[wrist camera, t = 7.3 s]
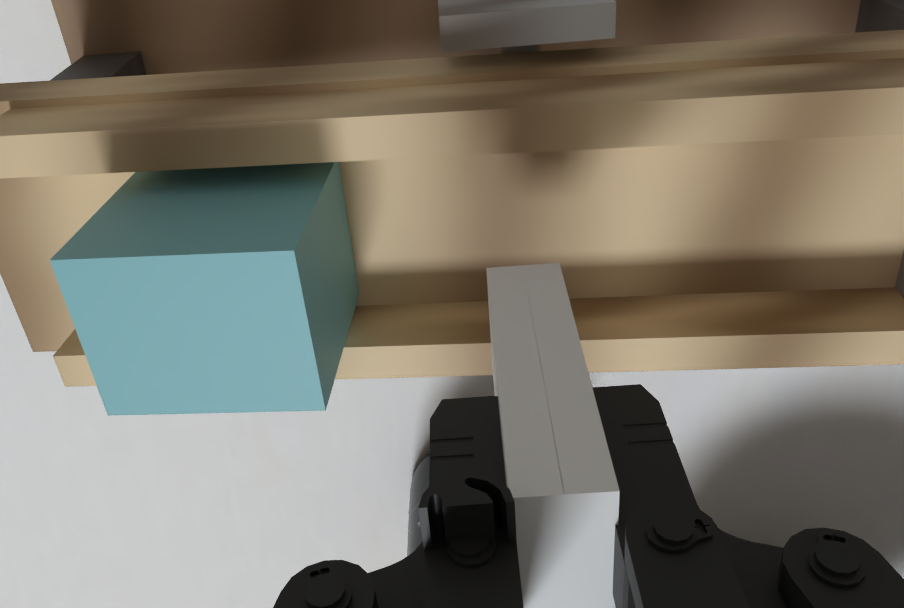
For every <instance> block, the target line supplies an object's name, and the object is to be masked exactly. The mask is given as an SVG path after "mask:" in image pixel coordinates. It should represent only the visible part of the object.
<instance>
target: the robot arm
mask: <svg viewBox="0 0 904 608" xmlns="http://www.w3.org/2000/svg"><path fill="white" fill-rule="evenodd" d="M486 271H487V287H488V304H489V320H490V337H491V353H492V370H493V382H494V393H495V396H488V397H473V398H458V399H443V400H442V401H441V402H440V404H439V406H438V407H437V409H436V410H435V412H434V414H433V415H432V417H431V418H430V461H429V488H428V489H427V490H426V491H425V492H424V493H423V494H422V497H421V500H420V504H419V507H418V510H419V518H420V525H421V533H422V540H423V541H422V542H421V544H420V545H419V546H418V547H417V548H416V549H415V551H414V552H413V553H411V554H410V555H408V556H407V557H406V558H404V559H403V560H401V561H399V562H397V563H395V564H392V565H390V566H388V567H385V568H382V569H379V570H376V571H373V572H370V573H367V572H366V571H364V570H363V569H362V568H361V567H360V566H359V565H356V564H353V563H350V562H347V561H344V560H329V561H322V562H319V563H316V564H313V565H310V566H307V567H306V568H304V569H303V570H301V571H300V572H299V573H297V574H296V575H294V576H293V577H292V578H291V579H290V580H289V582H288V583H287V584H286V586H285V587H284V588H283V590H282V591H281V593H280V595H279V597H278V599H277V601H276V603H275V605H274V607H273V608H615V607H616V608H904V579H903V578H902V577H901V576H900V575H899V574H898V573H897V571H896V570H895V569H894V568H893V567H892V566H891V565H890V564H889V563H888V562H887V561H886V560H885V558H884V557H883V556H882V555H881V554H880V553H879V552H878V551H876V550H875V549H874V548H873V547H871V546H870V545H869V544H868V543H866V542H865V541H864V540H862V539H860V538H858V537H855V536H853V535H851V534H849V533H846V532H844V531H839V530H834V529H828V528H815V529H805V530H803V531H801V532H799V533H797V534H795V535H793V536H791V538H790V539H789V540H788V542H787V543H786V545H785V546H784V548H781V547H776V546H770V545H765V544H760V543H755V542H750V541H747V540H743V539H739V538H736V537H734V536H732V535H730V534H728V533H725V532H723V531H722V530H720V529H719V528H718V527H717V526H716V524H715V523H714V521H713V520H712V518H710V517H709V516H708V515H706V514H705V513H704V512H702V511H701V510H700V509H699V507H698V505H697V503H696V501H695V498H694V495H693V492H692V490H691V487H690V484H689V482H688V479H687V476H686V474H685V471H684V468H683V465H682V463H681V460H680V457H679V455H678V452H677V449H676V447H675V444H674V443H673V438H672V436H671V433H670V430H669V428H668V426H667V422H666V419H665V417H664V414H663V411H662V409H661V406H660V403H659V401H658V400H657V399H655V398H654V397H653V396H652V395H651V394H650V393H649V392H648V391H647V390H646V389H645V388H644V387H643V386H642V385H641V384H639V385H625V386H610V387H595V388H592V384H591V380H590V377H589V373H588V369H587V365H586V362H585V358H584V354H583V350H582V346H581V343H580V339H579V335H578V331H577V327H576V324H575V320H574V316H573V312H572V308H571V305H570V301H569V297H568V293H567V289H566V286H565V282H564V278H563V274H562V270H561V267H560V263H547V264H533V265H519V266H506V267H492V268H486Z"/></svg>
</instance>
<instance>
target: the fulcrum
mask: <svg viewBox="0 0 904 608" xmlns="http://www.w3.org/2000/svg"><path fill="white" fill-rule="evenodd" d="M51 1H52V4H53V7H54V11H55V14H56V17H57V20H58V23H59V26H60V29H61V33H62V36H63V39H64V42H65V45H66V48H67V52H68V55H69V58H70V61H71V64H72V65H70V66H69V67H68V68H66V69H65V70H64V71H62V72H61V73H59V74H58V75H57V76H55V77H54V78H53V79H51V80H50V81H55V80H71V79H88V78H105V77H121V76H138V75H155V74H172V73H188V72H205V71H222V70H238V69H255V68H272V67H289V66H305V65H322V64H339V63H355V62H372V61H389V60H405V59H422V58H439V57H456V56H472V55H489V54H506V53H522V52H539V51H556V50H572V49H589V48H606V47H623V46H639V45H656V44H673V43H689V42H706V41H723V40H739V39H756V38H773V37H790V36H806V35H823V34H840V33H856V32H873V31H890V30H904V0H51Z"/></svg>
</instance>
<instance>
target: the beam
mask: <svg viewBox="0 0 904 608" xmlns="http://www.w3.org/2000/svg"><path fill="white" fill-rule="evenodd" d="M325 162H339V164H340V170H341V177H342V183H343V190H344V196H345V203H346V209H347V216H348V222H349V229H350V235H351V242H352V248H353V255H354V261H355V268H356V274H357V281H358V287H359V297H358V300H357V304H356V307H355V310H354V314H353V317H352V321H351V324H350V328H349V331H348V335H347V338H346V342H345V345H344V348H343V352H342V355H341V359H340V362H339V366H338V369H337V373H336V376H335V379H365V378H403V377H441V376H478V375H493V370H492V353H491V337H490V320H489V304H488V287H487V271H486V268H492V267H506V266H519V265H533V264H547V263H560V267H561V270H562V274H563V278H564V282H565V286H566V289H567V293H568V297H569V301H570V305H571V308H572V312H573V316H574V320H575V324H576V327H577V331H578V335H579V339H580V343H581V346H582V350H583V354H584V358H585V362H586V365H587V369H588V373H591V372H628V371H666V370H703V369H741V368H778V367H816V366H853V365H891V364H904V30H890V31H873V32H856V33H840V34H823V35H806V36H790V37H773V38H756V39H739V40H723V41H706V42H689V43H673V44H656V45H639V46H623V47H606V48H589V49H572V50H556V51H539V52H522V53H506V54H489V55H472V56H456V57H439V58H422V59H405V60H389V61H372V62H355V63H339V64H322V65H305V66H289V67H272V68H255V69H238V70H222V71H205V72H188V73H172V74H155V75H138V76H121V77H105V78H88V79H71V80H55V81H38V82H21V83H5V84H0V274H1V276H2V279H3V281H4V283H5V286H6V288H7V290H8V293H9V295H10V298H11V300H12V302H13V305H14V307H15V310H16V312H17V314H18V317H19V319H20V321H21V324H22V326H23V329H24V331H25V333H26V336H27V338H28V341H29V343H30V345H31V348H32V350H33V352H42V351H57V352H56V353H55V354H54V355H53V358H54V360H55V363H56V365H57V368H58V370H59V373H60V375H61V377H62V380H63V382H64V385H65V386H97V385H96V382H95V380H94V377H93V374H92V372H91V369H90V366H89V364H88V361H87V358H86V356H85V353H84V351H83V348H82V345H81V343H80V340H79V337H78V335H77V332H76V329H75V327H74V324H73V321H72V319H71V316H70V313H69V311H68V308H67V305H66V303H65V300H64V298H63V295H62V292H61V290H60V287H59V284H58V282H57V279H56V276H55V274H54V271H53V268H52V266H51V263H50V259H51V258H52V257H53V256H54V255H55V254H56V253H57V252H58V251H59V250H60V249H61V248H62V247H63V246H64V245H65V244H66V243H67V242H68V241H69V240H70V239H71V238H72V237H73V235H74V234H75V233H76V232H77V231H78V230H79V229H80V228H81V227H82V226H83V225H84V224H85V223H86V222H87V221H88V220H89V219H90V218H91V217H92V216H93V215H94V214H95V213H96V212H97V211H98V210H99V209H100V208H101V207H102V206H103V205H104V204H105V203H106V202H107V201H108V200H109V199H110V198H111V197H112V196H113V195H114V193H115V192H116V191H117V190H118V189H119V188H120V187H121V186H122V185H123V184H124V183H125V182H126V181H127V180H128V179H129V178H130V177H131V176H132V175H133V174H134V173H135V172H143V171H163V170H183V169H204V168H224V167H244V166H264V165H284V164H305V163H325Z"/></svg>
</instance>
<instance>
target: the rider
mask: <svg viewBox="0 0 904 608" xmlns="http://www.w3.org/2000/svg"><path fill="white" fill-rule="evenodd" d="M50 263H51V266H52V268H53V271H54V274H55V276H56V279H57V282H58V284H59V287H60V290H61V292H62V295H63V298H64V300H65V303H66V305H67V308H68V311H69V313H70V316H71V319H72V321H73V324H74V327H75V329H76V332H77V335H78V337H79V340H80V343H81V345H82V348H83V351H84V353H85V356H86V358H87V361H88V364H89V366H90V369H91V372H92V374H93V377H94V380H95V382H96V385H97V388H98V390H99V393H100V396H101V398H102V401H103V403H104V406H105V409H106V411H107V414H108V415H147V414H191V413H235V412H279V411H323V410H326V407H327V404H328V400H329V397H330V393H331V390H332V386H333V383H334V379H335V376H336V373H337V369H338V366H339V362H340V359H341V355H342V352H343V348H344V345H345V342H346V338H347V335H348V331H349V328H350V324H351V321H352V317H353V314H354V310H355V307H356V304H357V300H358V297H359V287H358V281H357V274H356V268H355V261H354V255H353V248H352V242H351V235H350V229H349V222H348V216H347V209H346V203H345V196H344V190H343V183H342V177H341V170H340V164H339V162H325V163H305V164H284V165H264V166H244V167H224V168H204V169H183V170H163V171H143V172H135V173H134V174H133V175H132V176H131V177H130V178H129V179H128V180H127V181H126V182H125V183H124V184H123V185H122V186H121V187H120V188H119V189H118V190H117V191H116V192H115V193H114V195H113V196H112V197H111V198H110V199H109V200H108V201H107V202H106V203H105V204H104V205H103V206H102V207H101V208H100V209H99V210H98V211H97V212H96V213H95V214H94V215H93V216H92V217H91V218H90V219H89V220H88V221H87V222H86V223H85V224H84V225H83V226H82V227H81V228H80V229H79V230H78V231H77V232H76V233H75V234H74V235H73V237H72V238H71V239H70V240H69V241H68V242H67V243H66V244H65V245H64V246H63V247H62V248H61V249H60V250H59V251H58V252H57V253H56V254H55V255H54V256H53V257H52V258H51V259H50Z"/></svg>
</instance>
